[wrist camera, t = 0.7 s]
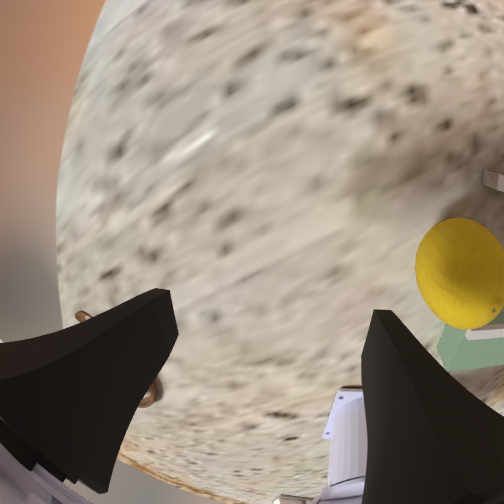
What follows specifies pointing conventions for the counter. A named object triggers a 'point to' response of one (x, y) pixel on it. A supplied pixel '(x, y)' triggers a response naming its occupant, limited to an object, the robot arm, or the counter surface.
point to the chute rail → (493, 180)
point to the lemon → (461, 273)
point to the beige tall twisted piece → (291, 500)
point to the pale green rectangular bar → (473, 346)
